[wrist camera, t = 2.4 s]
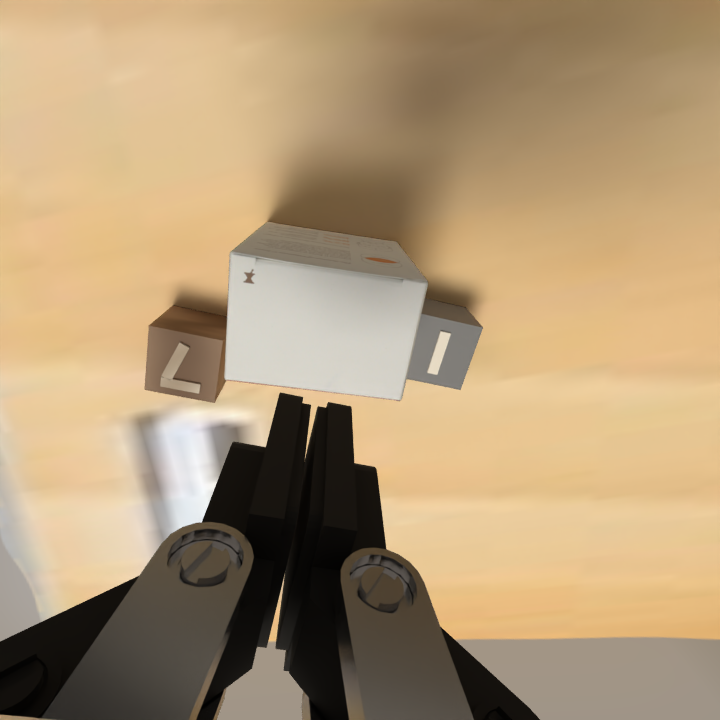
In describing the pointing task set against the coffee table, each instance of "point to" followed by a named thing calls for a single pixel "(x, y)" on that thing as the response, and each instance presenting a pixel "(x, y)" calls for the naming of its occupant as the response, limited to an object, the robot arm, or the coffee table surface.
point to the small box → (322, 312)
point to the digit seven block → (187, 354)
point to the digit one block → (444, 344)
